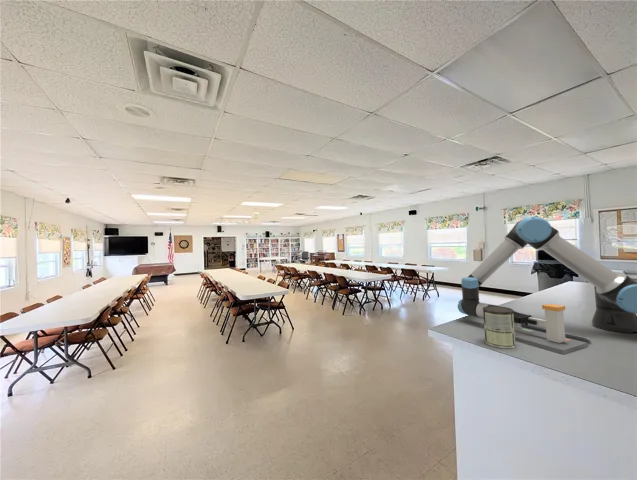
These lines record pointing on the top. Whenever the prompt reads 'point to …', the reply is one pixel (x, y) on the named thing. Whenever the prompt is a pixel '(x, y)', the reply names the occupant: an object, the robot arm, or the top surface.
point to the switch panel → (547, 341)
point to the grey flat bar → (565, 333)
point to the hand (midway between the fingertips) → (547, 324)
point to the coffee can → (499, 326)
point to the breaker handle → (554, 322)
